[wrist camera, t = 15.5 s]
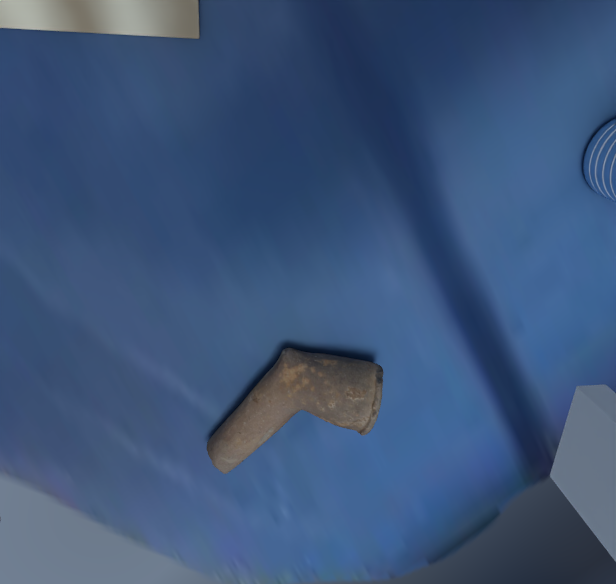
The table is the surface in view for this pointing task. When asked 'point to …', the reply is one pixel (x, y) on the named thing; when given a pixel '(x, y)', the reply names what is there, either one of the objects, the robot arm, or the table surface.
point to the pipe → (299, 402)
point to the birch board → (105, 16)
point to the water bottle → (602, 162)
